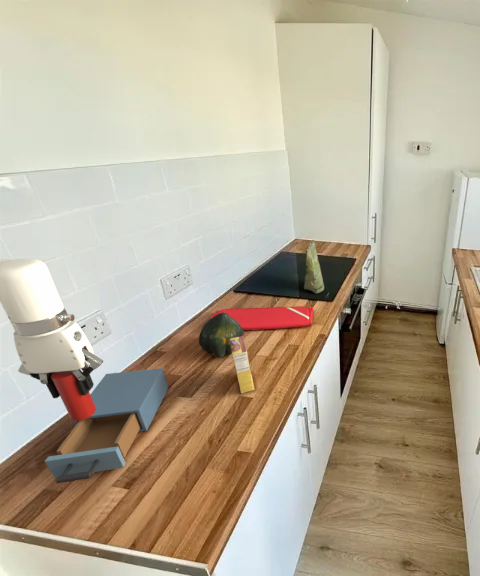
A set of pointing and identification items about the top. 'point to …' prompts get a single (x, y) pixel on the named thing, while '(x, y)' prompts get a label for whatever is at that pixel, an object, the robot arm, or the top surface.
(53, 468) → the drawer
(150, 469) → the top surface
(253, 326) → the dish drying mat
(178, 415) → the top surface
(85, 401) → the tin
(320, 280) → the pale green cone
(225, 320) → the squash
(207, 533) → the top surface
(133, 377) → the cabinet
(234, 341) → the candy box
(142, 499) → the top surface
